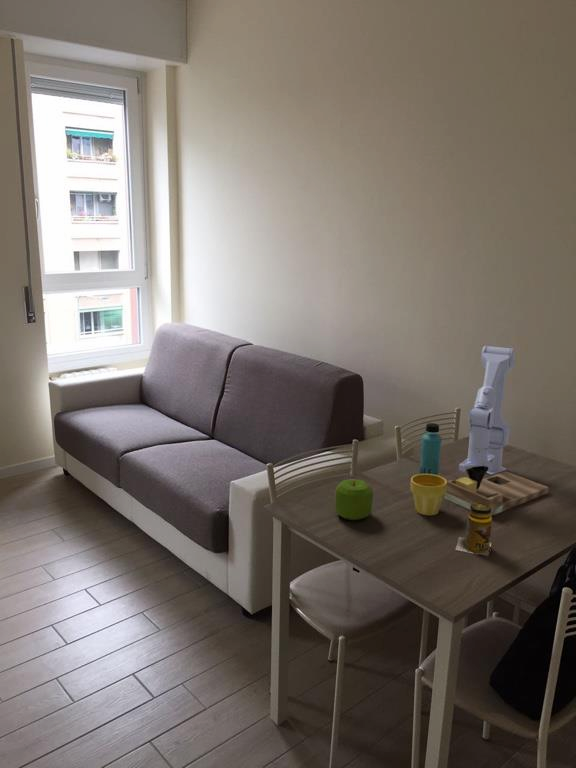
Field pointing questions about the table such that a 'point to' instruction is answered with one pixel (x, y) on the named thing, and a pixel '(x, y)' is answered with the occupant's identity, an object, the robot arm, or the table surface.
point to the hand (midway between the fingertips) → (474, 487)
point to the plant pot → (428, 492)
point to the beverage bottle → (430, 450)
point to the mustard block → (467, 483)
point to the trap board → (496, 492)
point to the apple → (353, 499)
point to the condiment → (477, 530)
